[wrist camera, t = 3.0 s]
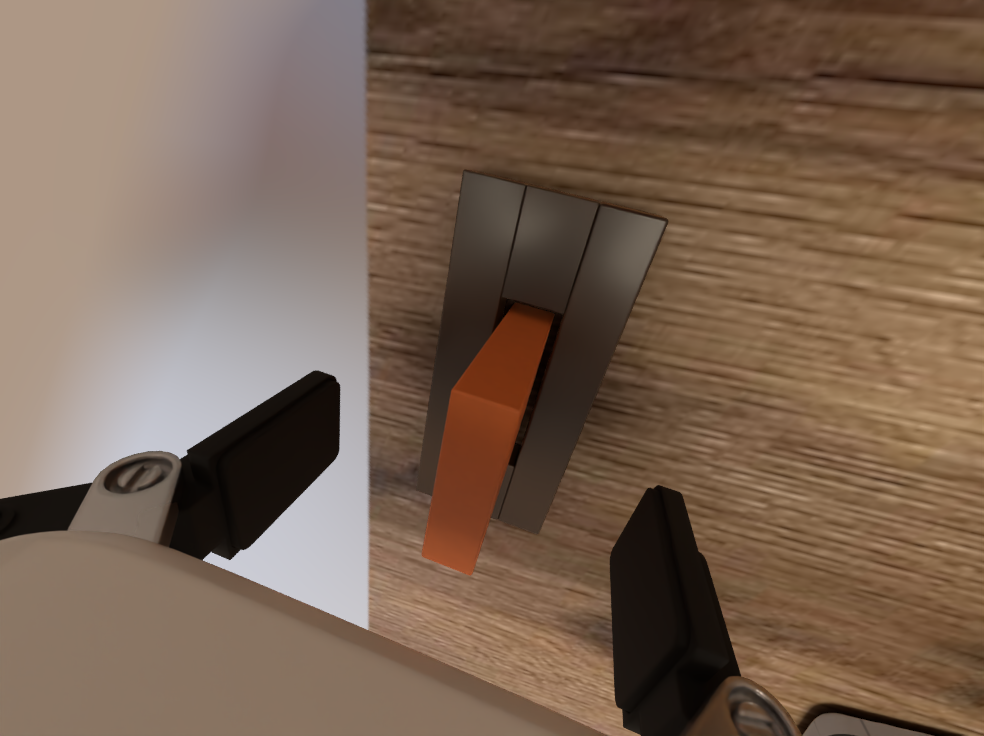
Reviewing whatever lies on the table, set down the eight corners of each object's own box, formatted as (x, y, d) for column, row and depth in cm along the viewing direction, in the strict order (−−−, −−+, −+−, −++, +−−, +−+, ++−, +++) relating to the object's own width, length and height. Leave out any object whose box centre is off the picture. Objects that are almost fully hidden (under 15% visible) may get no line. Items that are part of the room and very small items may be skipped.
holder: (477, 170, 12) (463, 169, 11) (661, 215, 12) (670, 219, 10) (427, 469, 19) (415, 490, 18) (542, 511, 18) (538, 535, 17)
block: (514, 301, 14) (450, 389, 8) (555, 313, 14) (521, 412, 8) (484, 423, 17) (420, 557, 11) (517, 434, 17) (471, 577, 11)
